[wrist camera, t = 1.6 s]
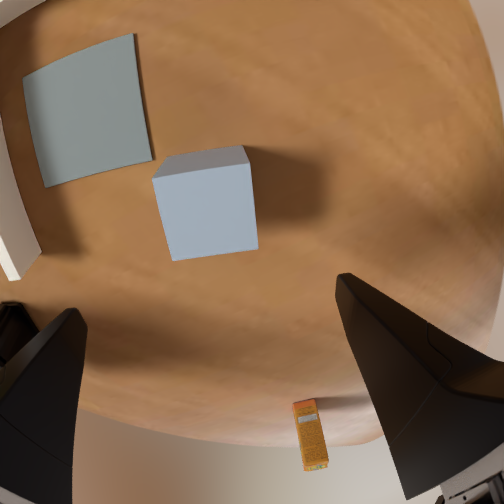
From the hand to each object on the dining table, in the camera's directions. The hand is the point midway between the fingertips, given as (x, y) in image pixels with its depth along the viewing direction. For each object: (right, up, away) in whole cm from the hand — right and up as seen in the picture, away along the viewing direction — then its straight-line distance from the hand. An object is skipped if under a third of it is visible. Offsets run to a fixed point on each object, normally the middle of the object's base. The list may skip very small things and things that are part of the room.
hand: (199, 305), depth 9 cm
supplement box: (+9, -20, +28) cm, 35 cm away
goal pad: (-10, +11, +6) cm, 16 cm away
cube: (-1, +6, +11) cm, 12 cm away
